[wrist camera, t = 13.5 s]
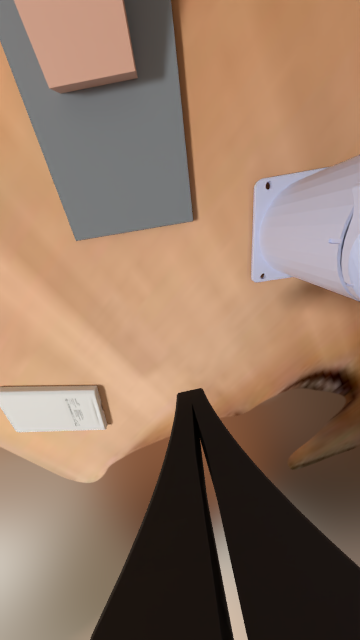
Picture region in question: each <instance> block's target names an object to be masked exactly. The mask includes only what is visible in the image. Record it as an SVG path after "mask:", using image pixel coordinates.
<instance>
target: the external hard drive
mask: <svg viewBox="0 0 360 640" xmlns="http://www.w3.org/2000/svg"><path fill="white" fill-rule="evenodd" d="M0 407H1V409H2V410H3V412H4V414H5V415H6V416H7V418H8V420H9V421H10V423H11V424H12V426H13V427H14V429H15V430H16V431H17V432H44V431H75V430H105V429H106V427H107V422H106V418H105V414H104V410H102V407H101V399H100V395H99V392H98V388H97V386H22V387H0Z"/></svg>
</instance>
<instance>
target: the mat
mask: <svg viewBox="0 0 360 640" xmlns="http://www.w3.org/2000/svg"><path fill="white" fill-rule="evenodd" d="M124 4H125V10H126V15H127V21H128V26H129V32H130V38H131V43H132V49H133V54H134V60H135V65H136V71H137V77H138V78H136V79H131V80H126V81H121V82H116V83H111V84H106V85H101V86H96V87H91V88H86V89H81V90H76V91H71V92H66V93H61V94H60V93H58V92H56V91H54V90H52V89H50V88H49V87H48V84H47V82H46V79H45V77H44V74H43V72H42V69H41V67H40V64H39V62H38V59H37V57H36V54H35V52H34V49H33V47H32V44H31V42H30V39H29V37H28V34H27V32H26V30H25V27H24V25H23V22H22V20H21V17H20V15H19V12H18V10H17V7H16V5H15V2H14V0H0V41H1V44H2V47H3V49H4V52H5V55H6V57H7V60H8V62H9V65H10V68H11V70H12V73H13V76H14V78H15V81H16V84H17V86H18V89H19V92H20V94H21V97H22V99H23V102H24V105H25V107H26V110H27V113H28V115H29V118H30V121H31V123H32V126H33V128H34V131H35V134H36V136H37V139H38V142H39V144H40V147H41V150H42V152H43V155H44V158H45V160H46V163H47V165H48V168H49V171H50V173H51V176H52V179H53V181H54V184H55V187H56V189H57V192H58V194H59V197H60V200H61V202H62V205H63V208H64V210H65V213H66V216H67V218H68V221H69V224H70V226H71V229H72V231H73V234H74V237H75V239H76V241H78V240H84V239H90V238H96V237H102V236H108V235H114V234H120V233H126V232H132V231H138V230H144V229H149V228H155V227H161V226H167V225H173V224H179V223H185V222H191V221H193V215H192V205H191V195H190V185H189V175H188V165H187V155H186V145H185V135H184V125H183V115H182V106H181V96H180V86H179V76H178V66H177V56H176V46H175V36H174V26H173V16H172V6H171V0H124Z"/></svg>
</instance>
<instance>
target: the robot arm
mask: <svg viewBox="0 0 360 640" xmlns="http://www.w3.org/2000/svg"><path fill="white" fill-rule="evenodd" d="M266 183H269V184H270V188H269V189H268V190H267V189H266ZM262 274H264V277H263V278H260V276H261V275H262ZM289 277H296V278H298V279H301V280H304V281H306V282H309V283H312V284H314V285H317V286H319V287H322V288H325V289H327V290H330V291H333V292H335V293H338V294H341V295H343V296H346V297H349V298H351V299H354V300H357V301H359V302H360V155H358V156H356V157H353V158H351V159H348V160H346V161H344V162H341V163H339V164H336V165H334V166H331V167H326V168H321V169H315V170H309V171H303V172H298V173H292V174H286V175H281V176H275V177H269V178H263V179H261V180H259V181H257V182H256V184H255V186H254V204H253V235H252V265H251V279H252V281H254V282H263V281H269V280H276V279H282V278H289ZM200 440H201V444H202V447H203V450H204V454H205V457H206V461H207V464H208V468H209V472H210V475H211V479H212V482H213V485H214V489H215V493H216V497H217V500H218V505H219V509H220V514H221V518H222V523H223V527H224V532H225V537H226V541H227V546H228V551H229V555H230V560H231V564H232V569H233V573H234V578H235V582H236V587H237V592H238V596H239V600H240V605H241V610H242V614H243V619H244V624H245V628H246V633H247V637H248V640H360V567H358V566H357V565H356V564H355V563H354V562H353V561H352V560H351V559H350V558H349V557H348V556H346V555H345V554H344V553H343V552H342V551H341V550H340V549H339V548H338V547H337V546H336V545H335V544H334V543H332V542H331V541H330V540H329V539H328V538H327V537H326V536H325V535H324V534H323V533H322V532H321V531H320V530H318V528H317V527H316V526H315V525H313V524H312V523H311V522H310V521H309V520H308V519H307V518H306V517H305V516H304V515H303V514H302V513H301V512H300V511H299V510H298V509H297V508H296V507H295V506H294V505H293V504H292V503H291V502H290V501H289V500H288V499H287V498H286V497H285V496H284V495H283V494H282V492H281V491H280V490H279V489H278V488H277V487H276V486H275V485H274V484H273V483H272V482H271V481H270V480H269V479H268V478H267V477H266V476H265V475H264V473H263V472H262V471H261V470H260V469H259V468H258V467H257V466H256V465H255V463H254V462H253V461H252V460H251V459H250V458H249V456H248V455H247V454H246V453H245V452H244V451H243V449H242V448H241V447H240V446H239V444H238V443H237V442H236V440H235V439H234V438H233V437H232V435H231V434H230V433H229V431H228V430H227V429H226V427H225V426H224V425H223V423H222V421H221V420H220V419H219V417H218V416H217V414H216V413H215V411H214V410H213V408H212V406H211V405H210V403H209V401H208V399H207V397H206V395H205V393H204V391H203V389H201V388H199V389H195V390H190V391H186V392H181V393H178V394H177V402H176V411H175V417H174V422H173V427H172V432H171V436H170V440H169V444H168V448H167V451H166V455H165V459H164V462H163V465H162V469H161V472H160V475H159V478H158V481H157V484H156V487H155V490H154V492H153V495H152V498H151V501H150V504H149V506H148V509H147V512H146V514H145V517H144V519H143V522H142V524H141V527H140V529H139V532H138V534H137V536H136V538H135V541H134V543H133V546H132V548H131V550H130V553H129V555H128V558H127V560H126V562H125V565H124V567H123V569H122V572H121V574H120V576H119V578H118V580H117V582H116V584H115V586H114V589H113V591H112V593H111V595H110V597H109V599H108V601H107V604H106V606H105V608H104V610H103V612H102V614H101V616H100V619H99V621H98V623H97V625H96V627H95V629H94V632H93V634H92V636H91V639H90V640H234V638H233V633H232V628H231V623H230V617H229V612H228V607H227V602H226V597H225V591H224V586H223V581H222V576H221V570H220V565H219V560H218V554H217V549H216V543H215V538H214V533H213V527H212V522H211V517H210V511H209V506H208V500H207V493H206V486H205V477H204V469H203V461H202V452H201V444H200Z"/></svg>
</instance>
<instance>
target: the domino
mask: <svg viewBox="0 0 360 640" xmlns="http://www.w3.org/2000/svg"><path fill="white" fill-rule="evenodd" d="M14 2H15V5H16V7H17V10H18V12H19V15H20V17H21V20H22V22H23V25H24V27H25V30H26V32H27V34H28V37H29V39H30V42H31V44H32V47H33V49H34V52H35V54H36V57H37V59H38V62H39V64H40V67H41V69H42V72H43V74H44V77H45V79H46V82H47V84H48V87H49V88H50V89H52V90H54V91H56V92H58V93H60V94H61V93H66V92H71V91H76V90H81V89H86V88H91V87H96V86H101V85H106V84H111V83H116V82H121V81H126V80H131V79H136V78H138V77H137V71H136V65H135V60H134V54H133V49H132V43H131V38H130V32H129V26H128V21H127V15H126V10H125V4H124V0H14Z"/></svg>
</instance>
